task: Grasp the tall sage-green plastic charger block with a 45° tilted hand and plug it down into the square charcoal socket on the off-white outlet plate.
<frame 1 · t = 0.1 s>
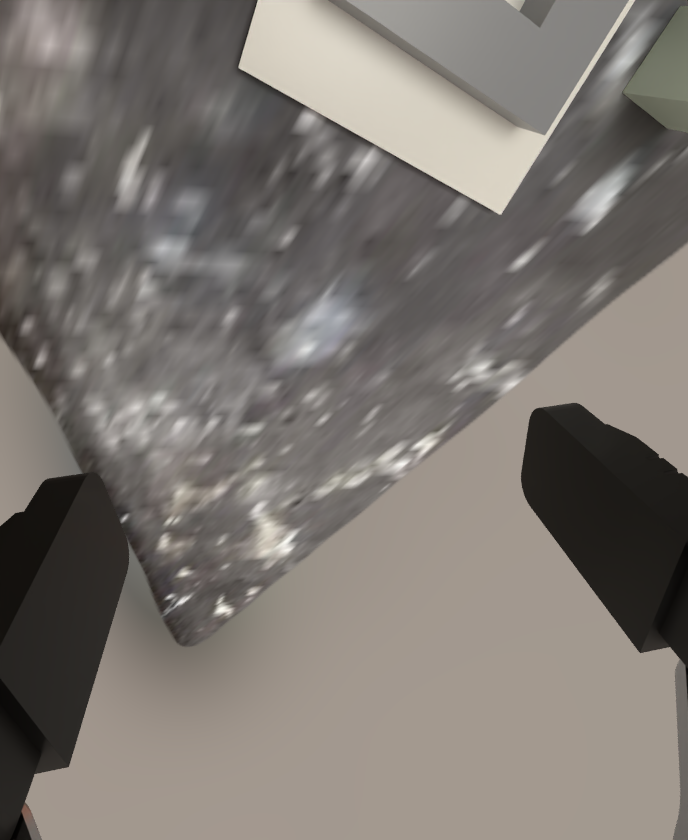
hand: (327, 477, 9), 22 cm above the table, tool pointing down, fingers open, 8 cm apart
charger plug: (673, 71, 26), on the table
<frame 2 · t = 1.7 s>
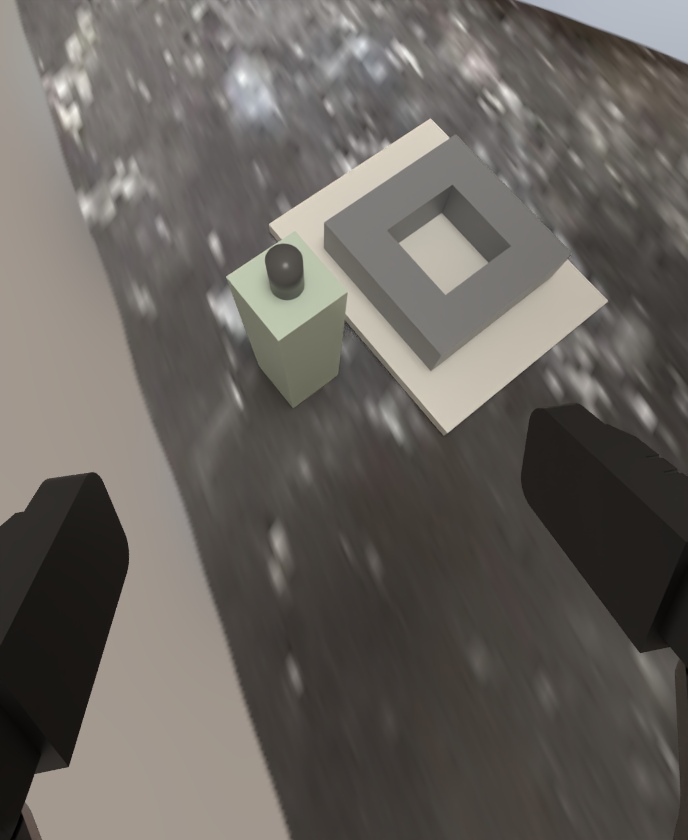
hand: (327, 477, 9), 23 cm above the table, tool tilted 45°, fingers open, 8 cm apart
outlet plate: (435, 269, 36), on the table
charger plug: (298, 370, 34), on the table
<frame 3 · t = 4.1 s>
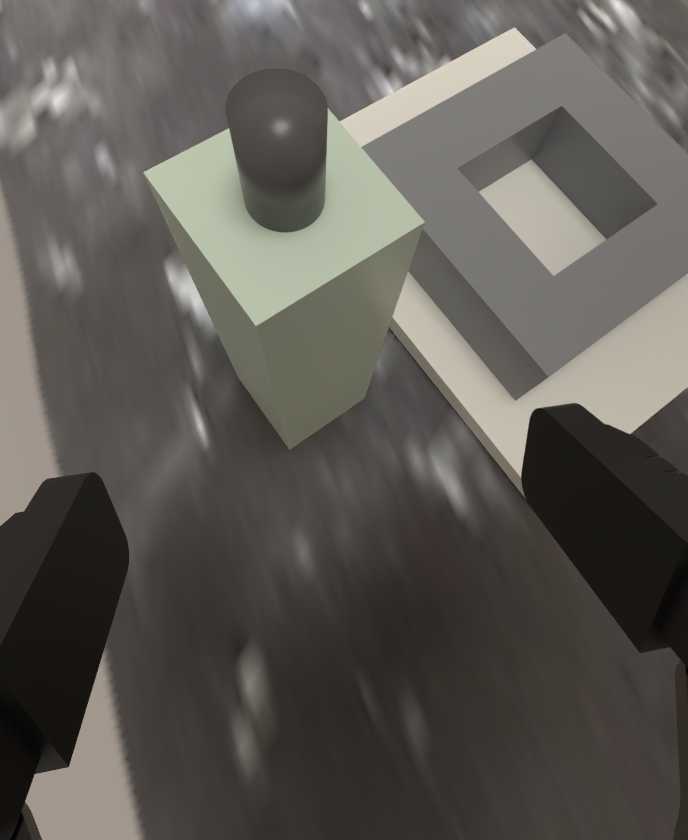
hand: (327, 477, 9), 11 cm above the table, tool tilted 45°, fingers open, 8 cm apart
outlet plate: (517, 244, 24), on the table
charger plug: (301, 387, 21), on the table
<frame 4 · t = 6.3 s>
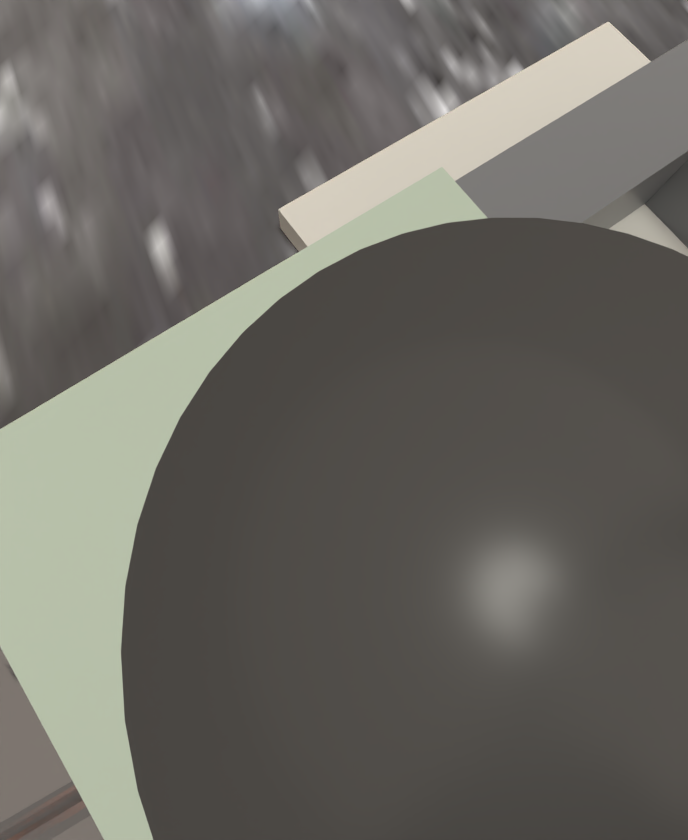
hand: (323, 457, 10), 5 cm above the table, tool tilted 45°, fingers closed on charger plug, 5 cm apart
outlet plate: (626, 323, 17), on the table
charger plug: (329, 546, 14), on the table, touching gripper
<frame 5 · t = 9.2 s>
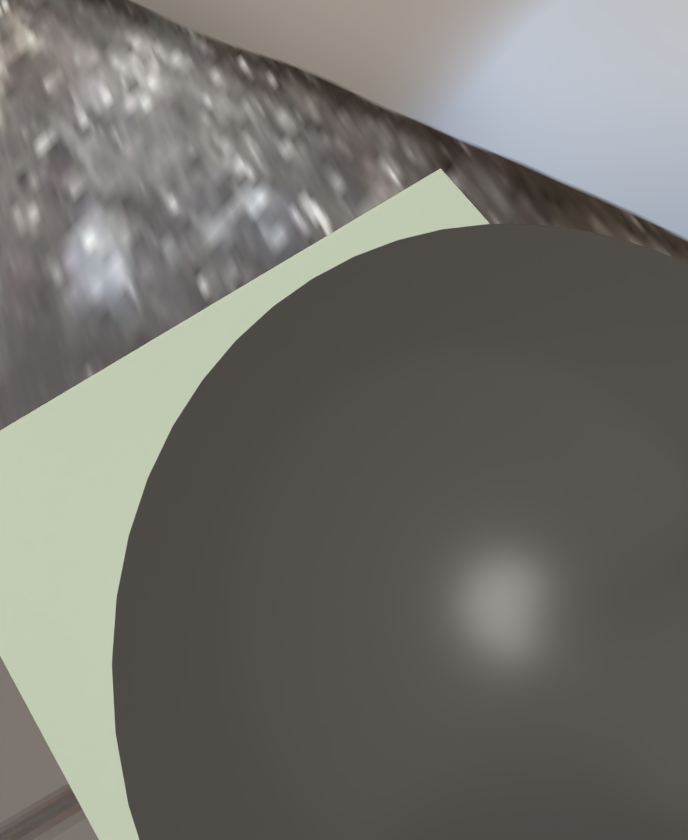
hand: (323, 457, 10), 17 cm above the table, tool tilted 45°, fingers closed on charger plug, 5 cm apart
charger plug: (329, 547, 14), point 11 cm above the table, touching gripper
when the fingers open (8 cm above the table, at t = 12.0 s): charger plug drops 1 cm, resting on outlet plate.
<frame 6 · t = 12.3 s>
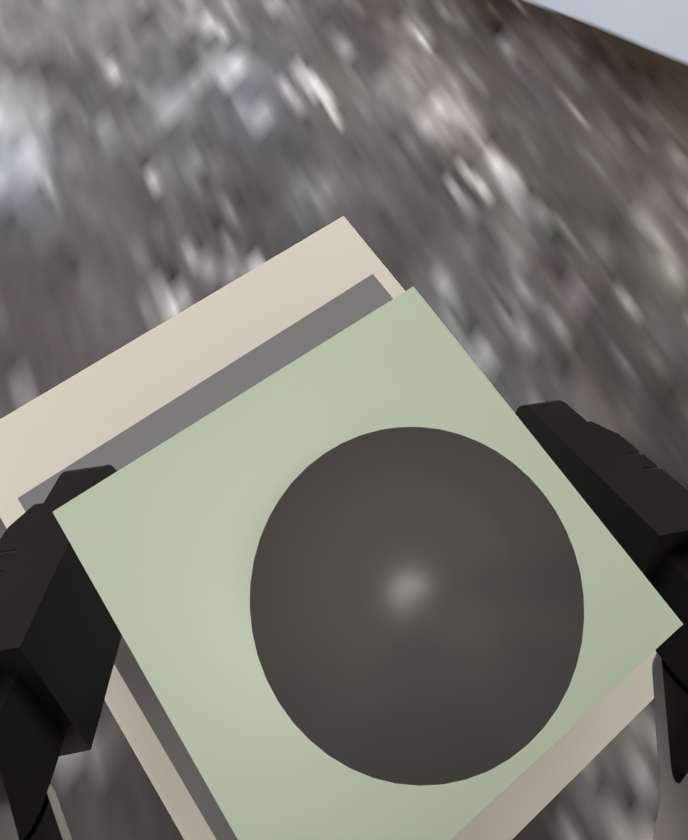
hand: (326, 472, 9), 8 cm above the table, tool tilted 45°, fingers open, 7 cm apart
outlet plate: (326, 546, 17), on the table
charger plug: (329, 549, 16), point 1 cm above the table, touching outlet plate
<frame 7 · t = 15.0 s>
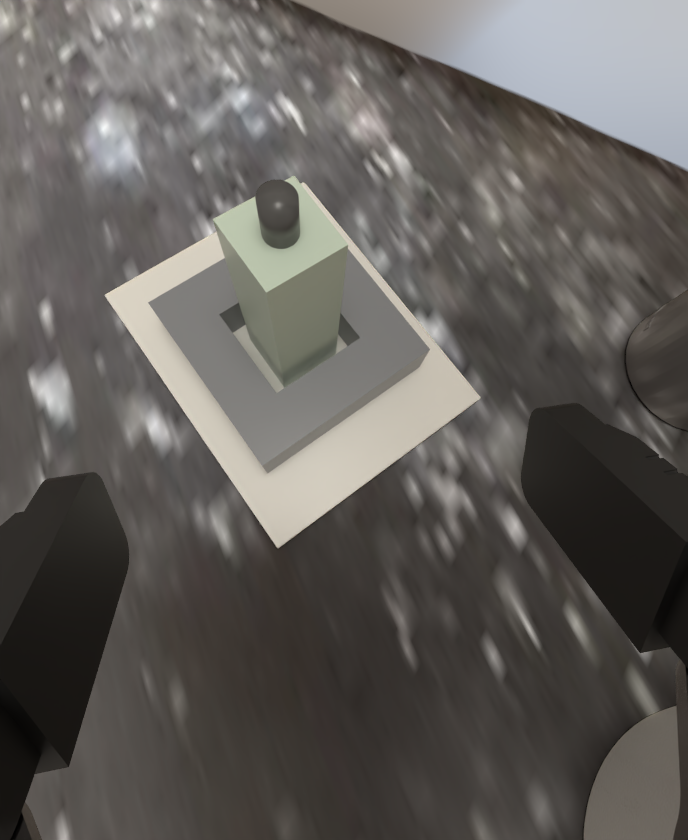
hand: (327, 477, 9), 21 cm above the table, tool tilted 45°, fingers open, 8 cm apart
outlet plate: (292, 352, 32), on the table
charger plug: (293, 347, 31), point 1 cm above the table, touching outlet plate
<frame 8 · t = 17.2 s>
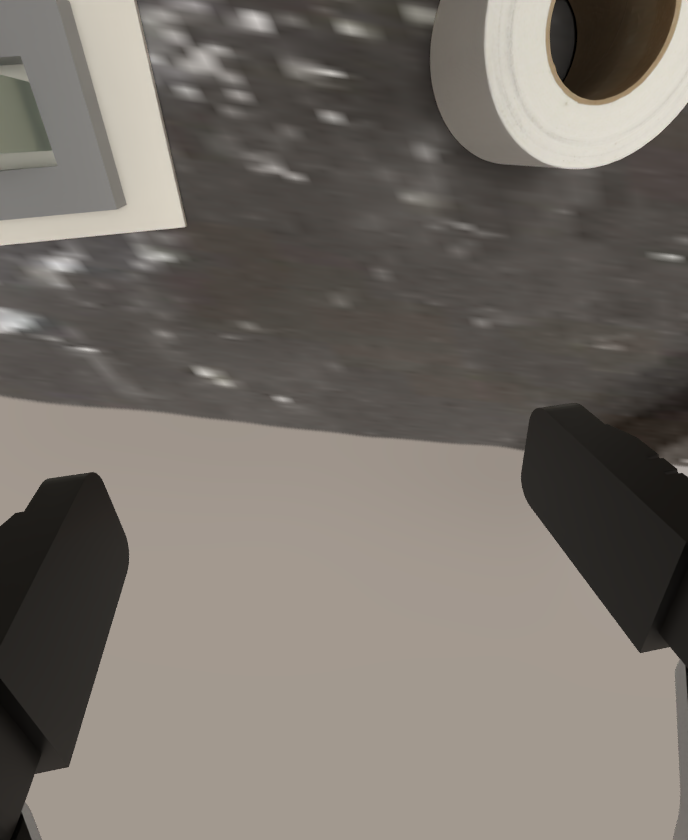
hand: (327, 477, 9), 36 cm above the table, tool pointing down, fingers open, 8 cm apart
outlet plate: (17, 119, 34), on the table
roll of tape: (523, 50, 37), on the table
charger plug: (13, 119, 33), point 1 cm above the table, touching outlet plate
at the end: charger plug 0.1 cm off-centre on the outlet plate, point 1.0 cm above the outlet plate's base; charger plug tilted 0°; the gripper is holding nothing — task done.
